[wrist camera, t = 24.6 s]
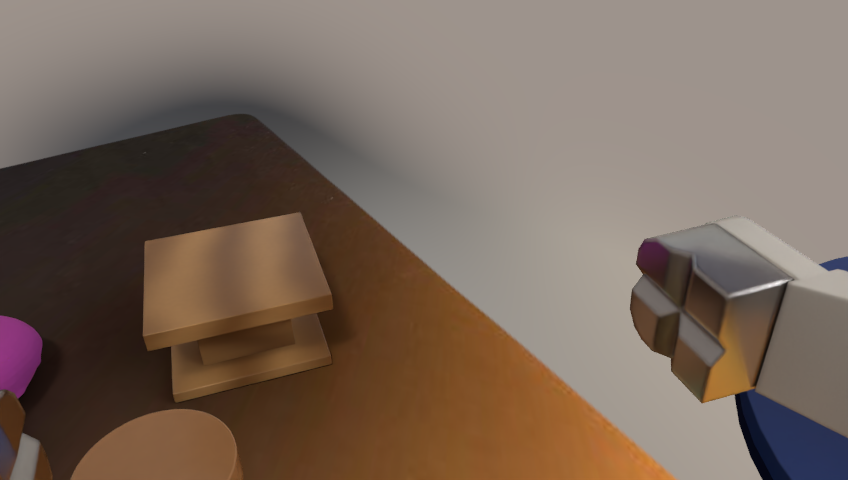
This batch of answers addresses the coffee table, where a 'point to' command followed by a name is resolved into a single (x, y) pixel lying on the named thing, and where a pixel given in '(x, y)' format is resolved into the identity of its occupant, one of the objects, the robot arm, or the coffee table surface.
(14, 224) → the coffee table surface
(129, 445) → the jar
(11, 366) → the donut
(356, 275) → the coffee table surface
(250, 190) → the coffee table surface
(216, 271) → the stand
